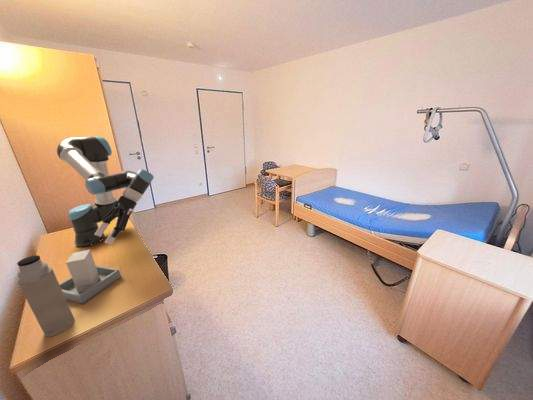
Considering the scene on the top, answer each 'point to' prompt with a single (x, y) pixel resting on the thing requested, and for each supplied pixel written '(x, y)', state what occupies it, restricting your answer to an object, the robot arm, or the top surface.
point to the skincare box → (83, 270)
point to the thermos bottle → (44, 295)
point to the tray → (106, 280)
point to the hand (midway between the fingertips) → (102, 239)
